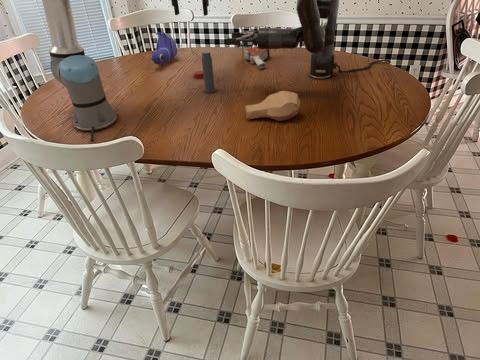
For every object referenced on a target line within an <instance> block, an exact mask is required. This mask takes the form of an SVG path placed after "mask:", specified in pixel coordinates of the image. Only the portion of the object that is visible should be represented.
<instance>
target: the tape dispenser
mask: <svg viewBox="0 0 480 360" xmlns="http://www.w3.org/2000/svg"><path fill="white" fill-rule="evenodd" d="M257 49H259V48H258V46H255V47H248V48H243V57H244V58H246V60H247V61H250V64H252V65H253V64H256V66H257V68H258V70H259V69H260V70H262V69H264V68H266V67H267V66H266V65H267V63H266V62H264V61H265V60H267V59H269V58H270V49H259V50H257Z"/></svg>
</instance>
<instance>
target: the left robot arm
mask: <svg viewBox="0 0 480 360" xmlns="http://www.w3.org/2000/svg"><path fill="white" fill-rule="evenodd" d="M170 1H171V6H172V7H173V9H174V11H173V12H174V16H178V15H180V8H179V1H178V0H170ZM209 1H210V0H201V3H202V12H203V13H202V14H203V16H204V17H206V16H208V15H209V11H208V7H210V2H209ZM41 2H42V6H43V7H42V8H43V11H44V15H45V19H46V24H47V27H48V32H49V36H50V41H51V47H50V48H49V49H48V53H49V57H50V62H49V66H50V72H51V74H52V76H53V77H54V78H55V79H56V80H57V81H58V82H59V83H60V84H61V85H63V86H64V87H65V88H66V90H67V93H68V95H69V99H70V101H71V104H72V108H73V114H72V117H73V118H72V119H73V125H74V128H75V129H76V131H78V132H84V133H90V142H93V141H94V132H99V131H102V130H105V129H107V128H110V127H111V126H113V125H115V124H116V122H117V121H118V116H117V114H116V111H115V110H114V108H113V107H112V105H111V103H110V102H109V101H108V99H107V96H106V92H105V89H104V87H103V86H104V85H103V83H102V79H101V75H100V71H99V67H98V65H97V63H96V60H95V59H94V58H93V57H91V56H89V55H86V54H85V48H84V47H82V46H81V45H80V44H79V39H78V36H77V35H78V34H77V29H76V25H75V24H76V23H75V20H74V15H73V9H72V4H71V0H41Z"/></svg>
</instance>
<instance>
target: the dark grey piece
mask: <svg viewBox="0 0 480 360" xmlns="http://www.w3.org/2000/svg"><path fill="white" fill-rule="evenodd" d="M201 66H202V71H203V75H204V77H203V84H204V93H206V94H212V93H216V87H215V77H214V75H215V74H214V66H213V57H212V55H211V51H210V50H204V51H202V52H201Z"/></svg>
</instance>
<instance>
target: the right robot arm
mask: <svg viewBox="0 0 480 360" xmlns="http://www.w3.org/2000/svg"><path fill="white" fill-rule="evenodd" d="M339 7H340V0H296V14H297V17H298V20H299V24H300V26H299V27H296V28H295V27H294V28H281V27H259V28H258V29H257V30H246V29H245V30H243V31H241V32H232V33H231V37H227V38H226V39H225V42H226V45H228V46H236V47H237V48H254V45H257V47H258V49H259V50H261V49H269V50H281V49H283V50H284V49H287V50H288V49H290V50H291V49H292V50H293V49H297V48H298V47H299V45H300V43H303V45H304V47H305V50H306V51H307V52H308V53H310V66H309V77H310V78H312V79H316V80H325V79H329V78H331V77H333V74H334V70H336V69H337V68H338V72H339V73H349V72H356V71H362V70H366V69H370V67H371V66H372V65H373V64H377V63H379V62H388V64H392V62H391V60H389V59H379V60H374V61H371V62H370V63H369V65H368V66H364V67H360V68H354V69H353V68H352V69H349V70H341V65H339V64H337V62H336V61H335V57H336V56H335V54H334V46H335V38H336V37H335V36H336V29H337V23H338V22H337V21H338V13H339ZM321 19H323V20H326V23H324V24H322V25H321Z"/></svg>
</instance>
